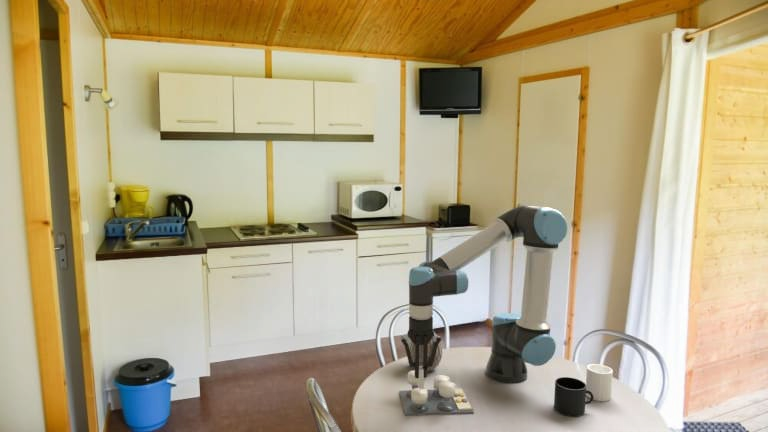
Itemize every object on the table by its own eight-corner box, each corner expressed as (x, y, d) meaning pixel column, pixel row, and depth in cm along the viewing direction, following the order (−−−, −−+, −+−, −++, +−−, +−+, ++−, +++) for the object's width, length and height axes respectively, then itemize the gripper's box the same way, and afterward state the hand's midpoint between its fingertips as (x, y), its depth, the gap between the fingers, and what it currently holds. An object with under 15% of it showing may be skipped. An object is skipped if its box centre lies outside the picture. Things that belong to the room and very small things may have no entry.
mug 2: (596, 385, 182) (598, 358, 181) (615, 400, 170) (617, 373, 169) (575, 386, 181) (577, 359, 180) (593, 402, 169) (594, 374, 168)
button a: (447, 388, 175) (447, 374, 175) (450, 395, 170) (450, 381, 169) (432, 389, 175) (432, 375, 174) (435, 396, 170) (435, 381, 169)
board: (461, 390, 177) (461, 386, 176) (473, 413, 161) (473, 408, 161) (399, 392, 175) (399, 388, 175) (405, 415, 159) (405, 411, 159)
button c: (421, 383, 174) (421, 370, 174) (424, 390, 169) (424, 376, 168) (406, 384, 174) (407, 370, 173) (408, 391, 169) (408, 377, 168)
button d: (425, 401, 166) (426, 387, 165) (428, 409, 160) (428, 394, 160) (410, 402, 165) (410, 387, 165) (412, 410, 160) (412, 395, 159)
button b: (452, 395, 166) (453, 380, 165) (456, 403, 161) (456, 388, 160) (437, 395, 166) (437, 381, 165) (440, 403, 160) (440, 388, 160)
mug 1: (596, 418, 158) (598, 391, 157) (557, 416, 160) (558, 388, 159) (588, 404, 167) (590, 378, 166) (551, 401, 169) (552, 376, 168)
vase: (443, 376, 188) (444, 331, 186) (408, 375, 188) (409, 330, 186) (440, 362, 201) (441, 319, 199) (407, 361, 201) (407, 319, 199)
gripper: (438, 311, 164) (438, 380, 166) (399, 313, 162) (399, 382, 165) (443, 319, 156) (442, 391, 159) (401, 320, 155) (401, 393, 158)
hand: (420, 386), depth 162 cm, fingers closed
